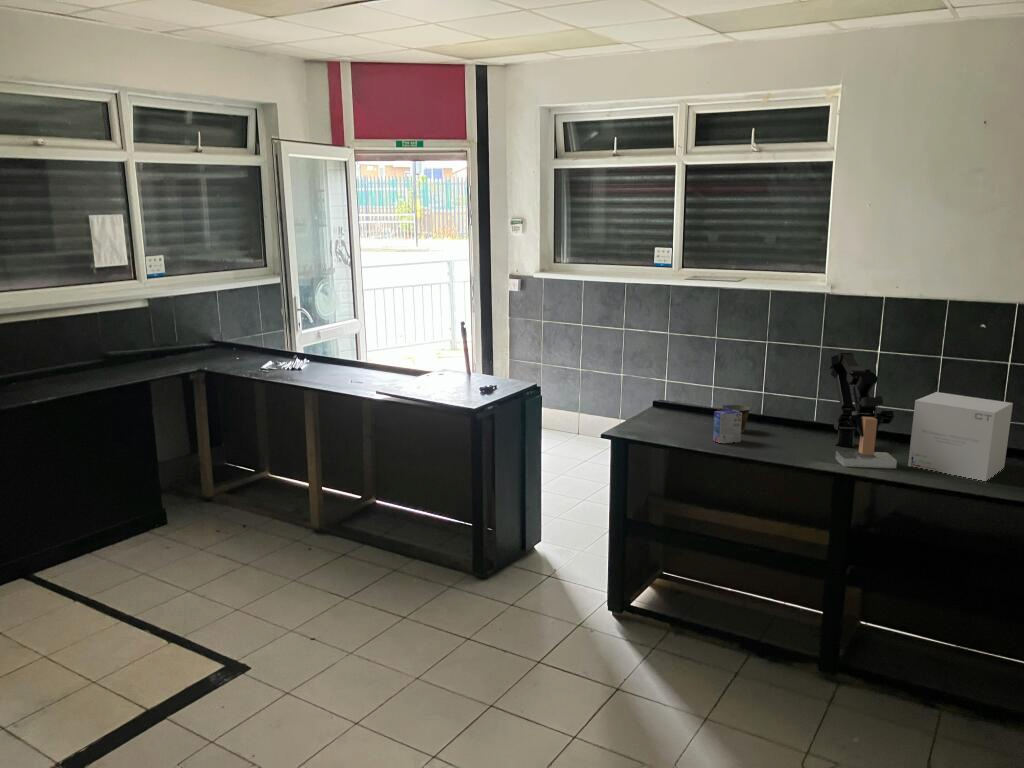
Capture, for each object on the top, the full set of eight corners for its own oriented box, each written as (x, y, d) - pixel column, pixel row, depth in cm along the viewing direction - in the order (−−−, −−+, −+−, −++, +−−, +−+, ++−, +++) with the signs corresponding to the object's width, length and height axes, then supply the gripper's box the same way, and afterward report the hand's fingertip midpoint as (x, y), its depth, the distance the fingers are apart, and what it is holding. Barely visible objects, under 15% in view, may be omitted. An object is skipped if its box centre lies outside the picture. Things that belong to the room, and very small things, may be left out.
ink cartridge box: (733, 438, 321) (736, 403, 318) (741, 442, 316) (743, 406, 313) (711, 440, 318) (713, 405, 315) (719, 444, 313) (721, 408, 310)
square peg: (858, 451, 291) (862, 416, 288) (870, 451, 290) (873, 416, 288) (862, 454, 287) (865, 419, 284) (873, 454, 287) (877, 419, 284)
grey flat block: (835, 458, 295) (836, 450, 295) (886, 460, 293) (887, 452, 293) (843, 466, 286) (844, 458, 285) (896, 468, 284) (896, 460, 283)
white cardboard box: (907, 467, 287) (915, 400, 282) (928, 455, 302) (936, 391, 297) (985, 483, 270) (994, 412, 265) (1003, 470, 284) (1012, 403, 280)
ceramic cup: (746, 428, 337) (747, 405, 335) (749, 434, 328) (751, 410, 326) (714, 427, 339) (716, 404, 337) (717, 433, 330) (718, 409, 328)
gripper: (842, 386, 289) (848, 424, 280) (896, 388, 287) (903, 426, 278) (833, 403, 298) (839, 439, 290) (886, 404, 296) (893, 441, 288)
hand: (869, 436), depth 286 cm, fingers closed on square peg, 4 cm apart
